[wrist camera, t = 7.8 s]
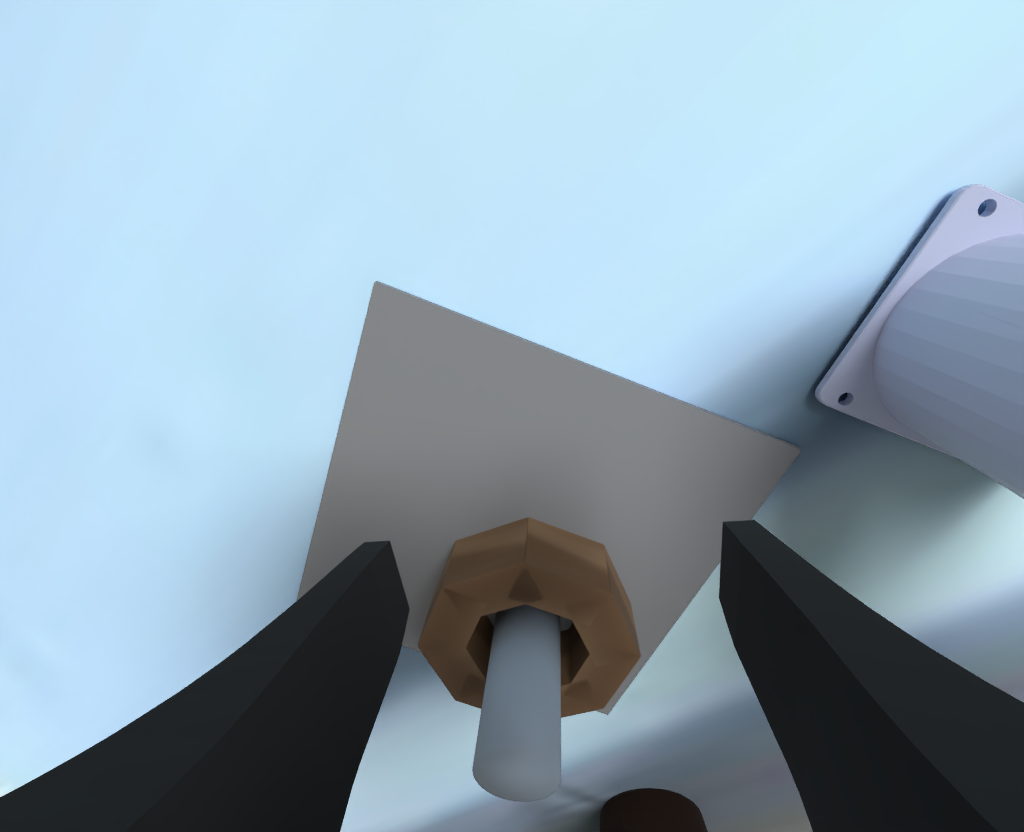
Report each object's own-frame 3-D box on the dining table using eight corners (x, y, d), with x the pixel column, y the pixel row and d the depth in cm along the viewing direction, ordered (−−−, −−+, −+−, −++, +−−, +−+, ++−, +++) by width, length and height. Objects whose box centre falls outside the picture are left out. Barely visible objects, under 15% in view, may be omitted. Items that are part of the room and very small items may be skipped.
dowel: (568, 583, 23) (573, 761, 15) (549, 626, 24) (544, 810, 17) (509, 566, 23) (485, 736, 15) (492, 610, 24) (463, 787, 17)
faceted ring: (656, 563, 22) (671, 614, 19) (577, 683, 25) (580, 741, 23) (473, 497, 21) (461, 540, 18) (418, 630, 25) (402, 682, 22)
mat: (798, 446, 19) (802, 450, 19) (607, 709, 27) (607, 714, 26) (377, 281, 18) (374, 282, 18) (297, 605, 25) (294, 609, 25)
